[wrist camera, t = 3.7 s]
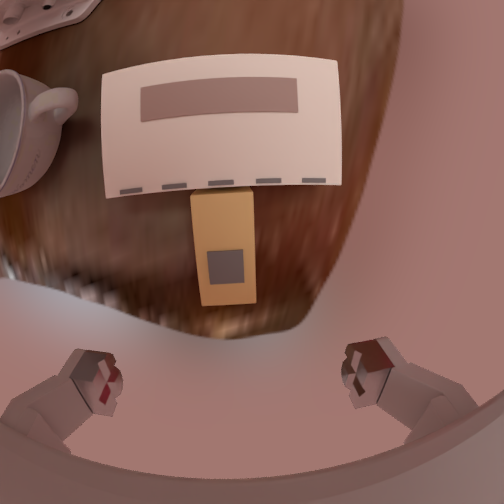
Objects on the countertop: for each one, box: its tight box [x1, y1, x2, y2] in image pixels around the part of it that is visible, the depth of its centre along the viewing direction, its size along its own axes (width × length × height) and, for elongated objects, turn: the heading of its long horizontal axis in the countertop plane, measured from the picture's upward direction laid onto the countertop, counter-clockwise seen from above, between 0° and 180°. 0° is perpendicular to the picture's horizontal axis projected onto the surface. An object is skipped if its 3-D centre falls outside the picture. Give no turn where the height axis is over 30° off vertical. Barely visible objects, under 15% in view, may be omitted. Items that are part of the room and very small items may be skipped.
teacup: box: [0, 69, 78, 198], centre depth 14 cm, size 14×11×8 cm
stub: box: [190, 186, 256, 306], centre depth 20 cm, size 4×8×5 cm, turn 2°
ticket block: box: [101, 54, 342, 199], centre depth 17 cm, size 16×9×5 cm, turn 92°
